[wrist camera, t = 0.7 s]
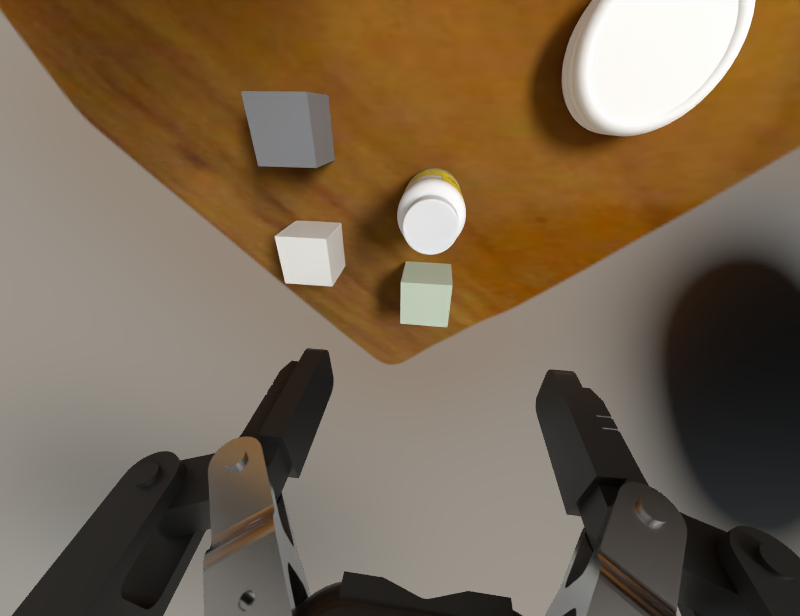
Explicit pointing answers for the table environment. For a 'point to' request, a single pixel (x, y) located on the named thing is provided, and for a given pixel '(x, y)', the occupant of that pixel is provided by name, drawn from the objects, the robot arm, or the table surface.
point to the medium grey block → (290, 128)
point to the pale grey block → (311, 252)
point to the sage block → (425, 294)
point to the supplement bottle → (431, 211)
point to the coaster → (649, 60)
